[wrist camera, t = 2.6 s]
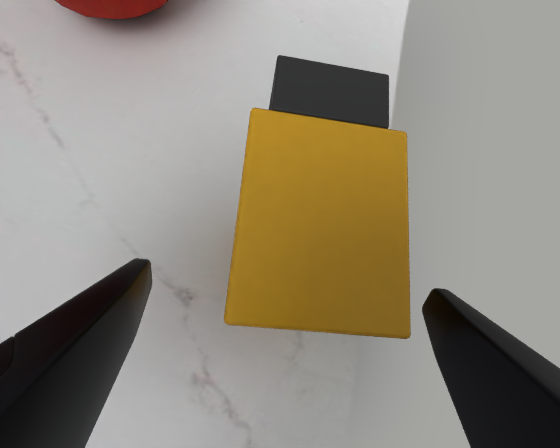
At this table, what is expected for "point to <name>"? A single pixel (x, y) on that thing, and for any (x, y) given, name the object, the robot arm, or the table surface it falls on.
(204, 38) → the table surface
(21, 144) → the table surface
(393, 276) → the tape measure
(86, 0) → the apple
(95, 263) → the table surface
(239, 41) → the table surface
